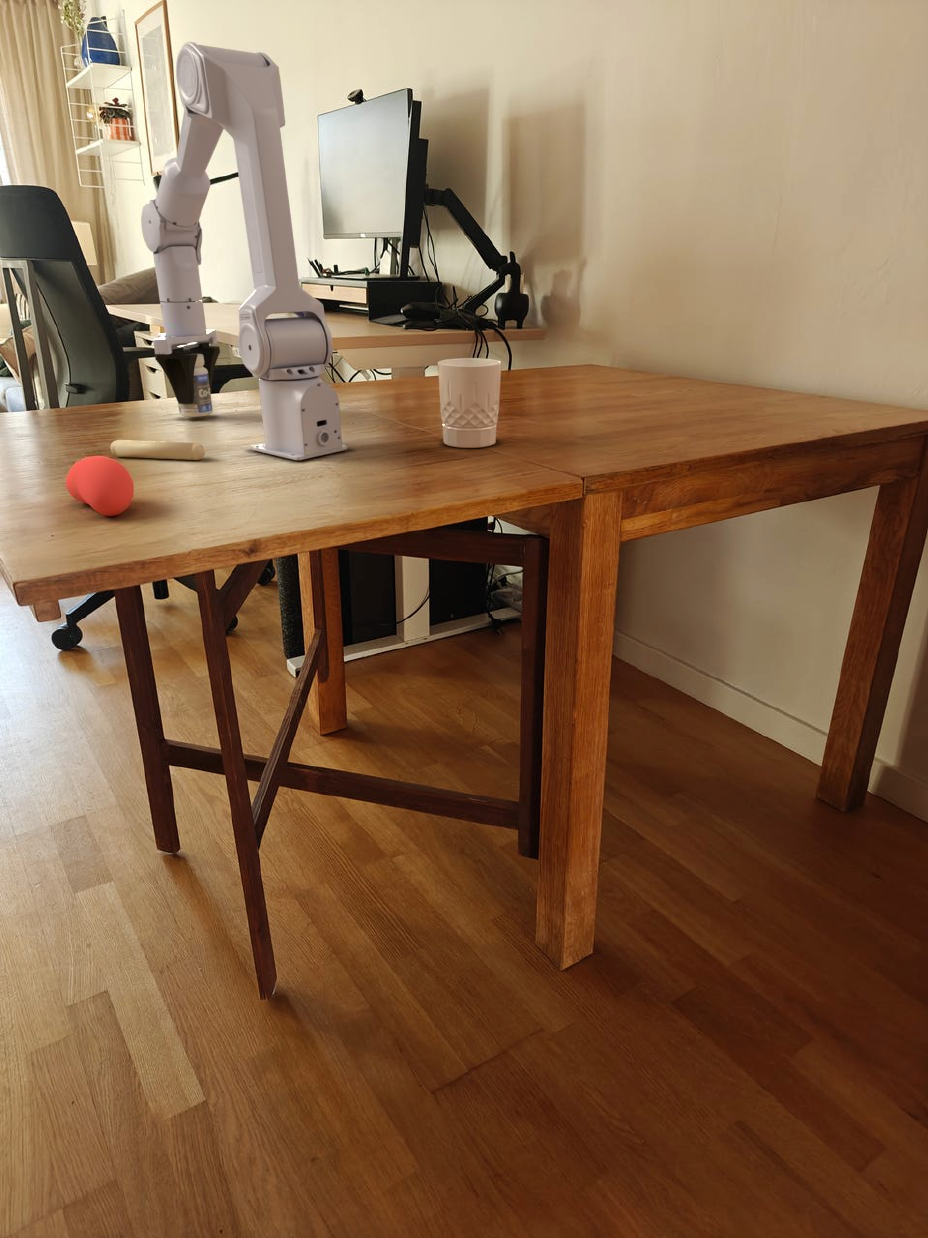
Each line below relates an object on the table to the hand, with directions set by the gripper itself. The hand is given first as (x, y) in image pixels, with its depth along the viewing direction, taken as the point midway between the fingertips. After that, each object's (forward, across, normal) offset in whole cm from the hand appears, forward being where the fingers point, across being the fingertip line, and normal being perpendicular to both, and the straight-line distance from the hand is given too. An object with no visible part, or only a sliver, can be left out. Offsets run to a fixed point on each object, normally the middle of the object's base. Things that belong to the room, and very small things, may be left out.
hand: (194, 400), depth 122 cm
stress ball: (+3, +45, +13) cm, 47 cm away
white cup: (+3, +10, +43) cm, 44 cm away
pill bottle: (+2, 0, 0) cm, 2 cm away
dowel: (+3, +25, +8) cm, 26 cm away
